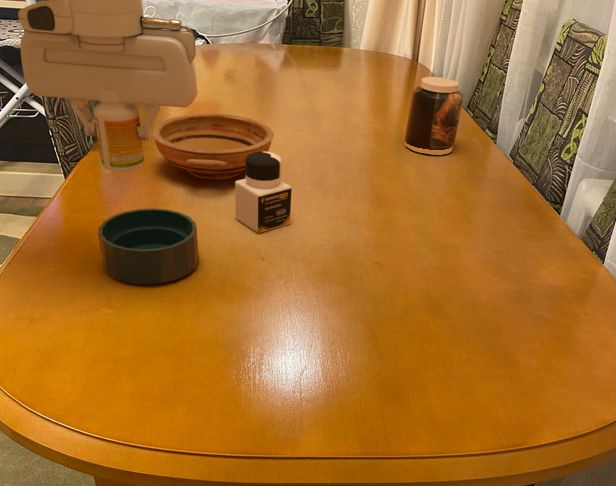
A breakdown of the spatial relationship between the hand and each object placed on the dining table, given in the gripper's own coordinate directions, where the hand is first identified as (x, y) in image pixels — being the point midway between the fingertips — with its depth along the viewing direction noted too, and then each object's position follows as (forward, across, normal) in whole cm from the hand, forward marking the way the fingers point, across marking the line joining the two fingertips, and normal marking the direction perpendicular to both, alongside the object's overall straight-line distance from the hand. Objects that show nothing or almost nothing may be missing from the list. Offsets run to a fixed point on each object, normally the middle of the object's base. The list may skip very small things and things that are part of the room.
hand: (119, 136), depth 77 cm
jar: (+21, -49, -72) cm, 89 cm away
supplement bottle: (+4, 0, 0) cm, 4 cm away
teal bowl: (+21, -1, -5) cm, 22 cm away
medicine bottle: (+21, -15, -23) cm, 35 cm away
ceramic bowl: (+21, -2, -46) cm, 51 cm away
